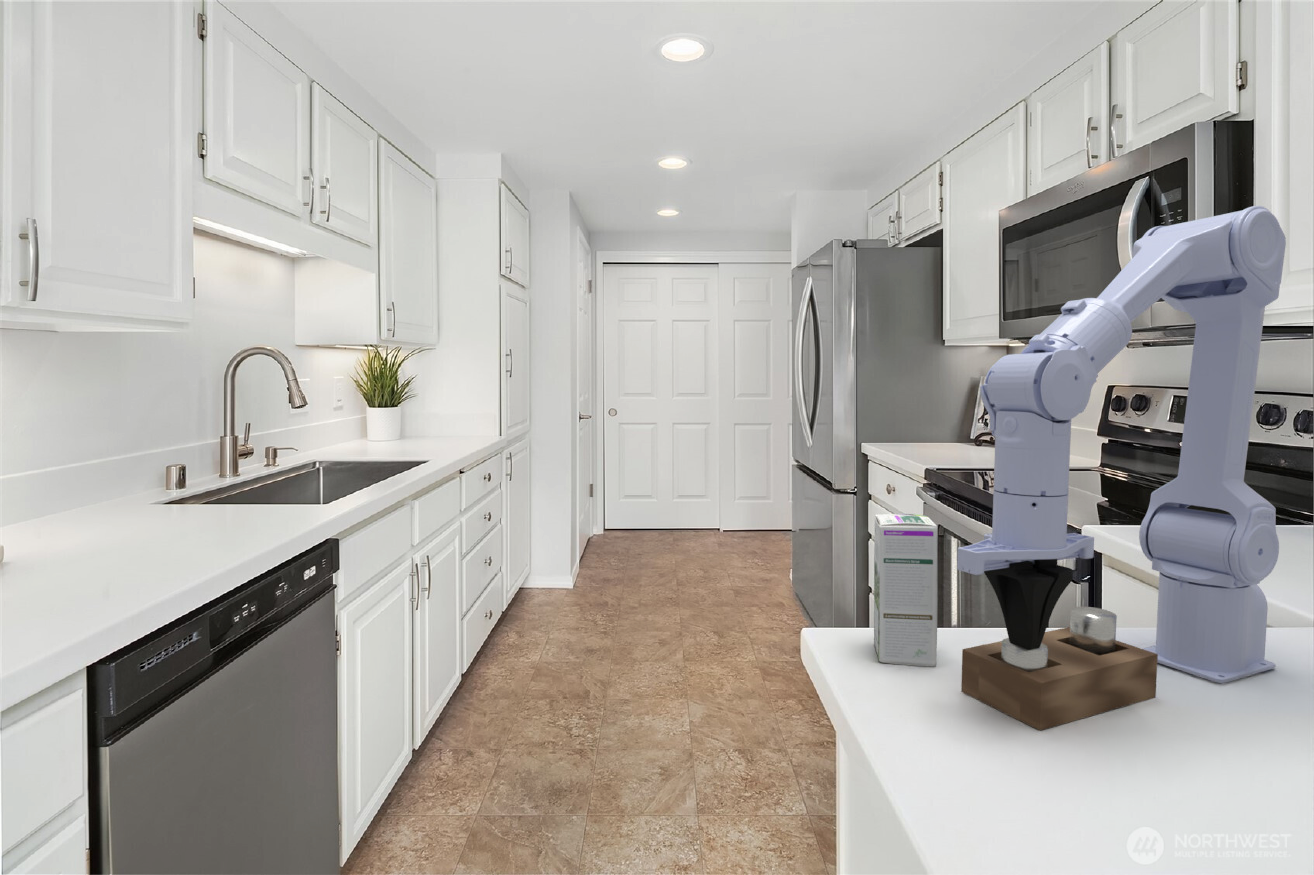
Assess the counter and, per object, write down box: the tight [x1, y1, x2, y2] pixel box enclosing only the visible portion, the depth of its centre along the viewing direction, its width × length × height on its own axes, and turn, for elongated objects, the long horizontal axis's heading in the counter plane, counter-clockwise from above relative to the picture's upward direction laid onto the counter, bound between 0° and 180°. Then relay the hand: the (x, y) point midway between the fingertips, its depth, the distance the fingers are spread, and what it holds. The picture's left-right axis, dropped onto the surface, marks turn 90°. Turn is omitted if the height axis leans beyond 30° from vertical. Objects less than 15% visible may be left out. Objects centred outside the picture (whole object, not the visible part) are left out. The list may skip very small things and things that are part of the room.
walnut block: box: [960, 626, 1158, 731], centre depth 63 cm, size 15×8×4 cm, turn 114°
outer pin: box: [1001, 637, 1048, 672], centre depth 61 cm, size 4×4×4 cm
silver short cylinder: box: [1069, 606, 1118, 656], centre depth 65 cm, size 4×4×4 cm
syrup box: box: [873, 513, 939, 668], centre depth 72 cm, size 6×6×14 cm
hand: (1024, 645), depth 61 cm, fingers closed, pressing on outer pin
